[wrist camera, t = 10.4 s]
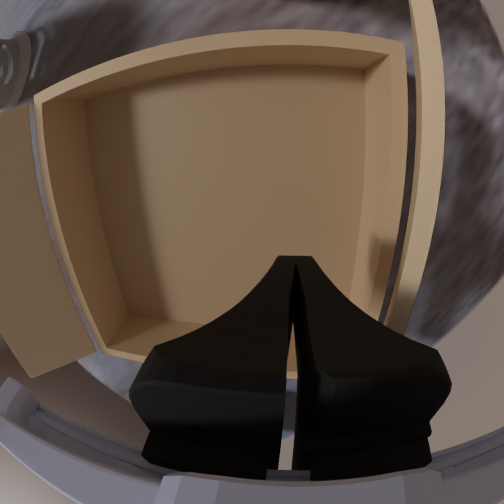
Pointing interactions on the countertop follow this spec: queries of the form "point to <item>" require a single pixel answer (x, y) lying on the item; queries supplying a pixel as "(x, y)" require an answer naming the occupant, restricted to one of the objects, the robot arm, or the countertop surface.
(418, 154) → the flap
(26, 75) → the french press
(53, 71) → the countertop surface
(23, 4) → the countertop surface
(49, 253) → the flap
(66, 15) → the countertop surface
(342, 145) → the carton
